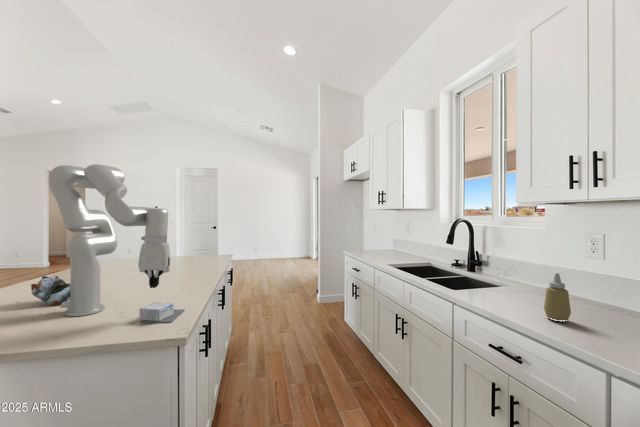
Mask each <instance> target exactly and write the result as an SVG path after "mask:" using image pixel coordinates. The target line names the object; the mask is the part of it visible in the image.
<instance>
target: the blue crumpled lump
mask: <svg viewBox="0 0 640 427" xmlns="http://www.w3.org/2000/svg"><path fill="white" fill-rule="evenodd" d="M70 288H71V282H69V283H66V281H65V280H63V279H61V278H60V277H59V276H58V275H54V276H52V277H50V276H45V275H44V276H41V279H40V280H39V281H38V282H37V283H32V284H30V289H31V295H32V296H34V297H35V298H37V299H39V300H40V301H42V302H43V303H46V304H48V305H50V306H53V307H57V306H61V304H62V302H70Z"/></svg>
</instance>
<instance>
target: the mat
mask: <svg viewBox="0 0 640 427" xmlns="http://www.w3.org/2000/svg"><path fill="white" fill-rule="evenodd" d="M185 311H186V308H185V309H184V308H183V309H174V312H173V315H171V316H169V317H167V318H165V319H163V320H161V321H148V320H140V322H139V324H140V323H145V324H169V323H171V324H172V323H173V322H174V321H175V320H176V319H177V318H178V317H180V316H181V315H182V314H183V313H184V312H185Z"/></svg>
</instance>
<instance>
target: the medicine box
mask: <svg viewBox="0 0 640 427" xmlns="http://www.w3.org/2000/svg"><path fill="white" fill-rule="evenodd" d="M174 307H175V305H174V303H169V302H152V303H151V304H148V305H146V306H145V305H144V306H143V307H140V308H139V320H140V321H143V320H148V321H161V320H163V319H165V318H167V317H169V316H171V315H173V312H174V310H175V308H174Z"/></svg>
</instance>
